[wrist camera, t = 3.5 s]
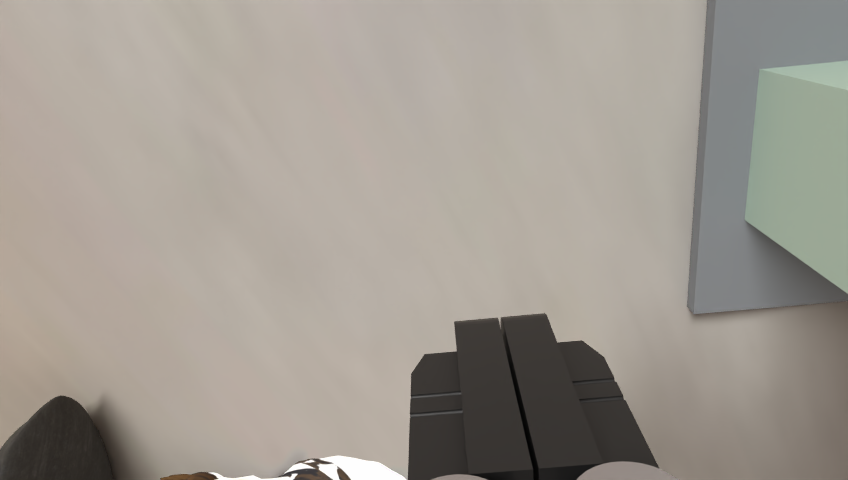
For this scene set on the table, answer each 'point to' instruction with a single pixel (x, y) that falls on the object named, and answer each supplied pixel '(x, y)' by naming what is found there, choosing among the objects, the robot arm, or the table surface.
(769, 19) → the slate mat
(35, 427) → the figurine
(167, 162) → the table surface
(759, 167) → the sage block
